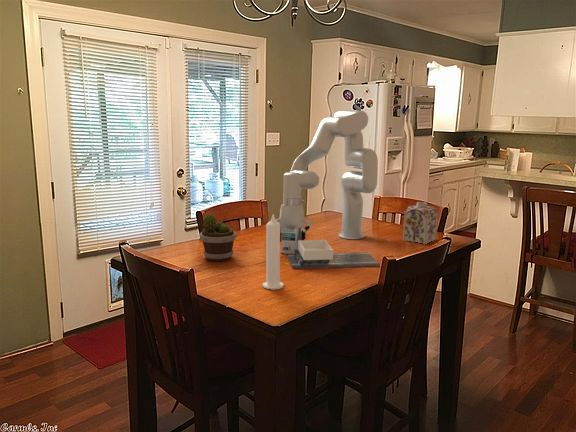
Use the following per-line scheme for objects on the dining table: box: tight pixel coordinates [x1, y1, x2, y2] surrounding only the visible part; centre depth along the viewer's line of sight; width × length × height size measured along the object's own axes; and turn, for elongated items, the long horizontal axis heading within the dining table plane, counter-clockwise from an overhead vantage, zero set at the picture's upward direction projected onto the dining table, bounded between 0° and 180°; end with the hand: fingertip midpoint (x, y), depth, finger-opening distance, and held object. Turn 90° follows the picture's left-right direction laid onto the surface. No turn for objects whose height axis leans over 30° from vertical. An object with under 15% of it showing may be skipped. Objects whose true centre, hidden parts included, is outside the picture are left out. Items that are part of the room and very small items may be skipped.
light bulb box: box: [281, 228, 302, 255], centre depth 206 cm, size 11×7×11 cm, turn 168°
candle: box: [262, 213, 284, 291], centre depth 162 cm, size 7×7×25 cm
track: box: [286, 250, 380, 270], centre depth 192 cm, size 16×34×3 cm, turn 97°
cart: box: [298, 239, 334, 264], centre depth 191 cm, size 15×11×6 cm
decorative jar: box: [402, 201, 438, 245], centre depth 225 cm, size 12×12×18 cm
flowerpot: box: [199, 210, 238, 262], centre depth 194 cm, size 14×15×20 cm
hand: (291, 241), depth 206 cm, fingers open, 9 cm apart
